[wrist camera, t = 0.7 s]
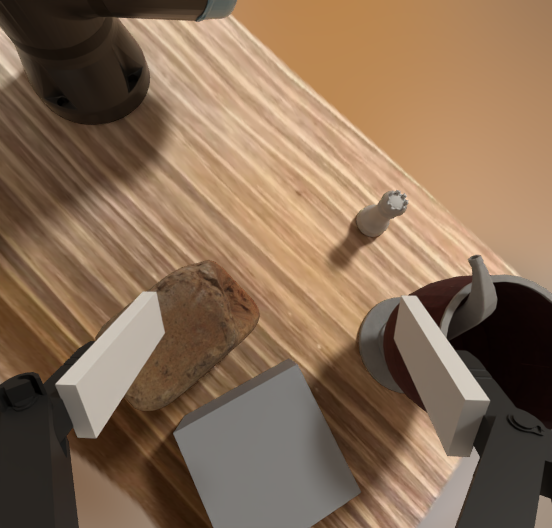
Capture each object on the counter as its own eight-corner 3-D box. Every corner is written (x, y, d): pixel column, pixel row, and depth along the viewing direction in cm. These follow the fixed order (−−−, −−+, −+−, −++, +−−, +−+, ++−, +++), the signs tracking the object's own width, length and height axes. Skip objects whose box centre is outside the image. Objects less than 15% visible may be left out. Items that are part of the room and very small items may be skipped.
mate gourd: (471, 359, 41) (681, 388, 21) (393, 422, 38) (552, 522, 19) (404, 263, 43) (541, 209, 23) (325, 316, 40) (404, 307, 20)
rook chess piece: (351, 231, 43) (375, 209, 35) (360, 203, 44) (385, 177, 36) (380, 242, 43) (410, 223, 35) (388, 215, 44) (420, 190, 36)
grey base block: (184, 415, 36) (173, 433, 30) (288, 358, 38) (297, 363, 32) (236, 534, 34) (235, 578, 28) (342, 465, 36) (361, 492, 31)
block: (192, 379, 37) (136, 440, 17) (156, 330, 37) (61, 334, 18) (263, 322, 39) (283, 318, 19) (227, 277, 39) (213, 228, 20)
